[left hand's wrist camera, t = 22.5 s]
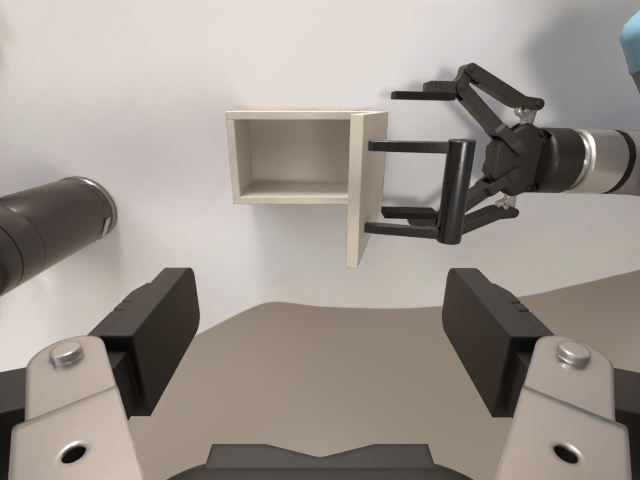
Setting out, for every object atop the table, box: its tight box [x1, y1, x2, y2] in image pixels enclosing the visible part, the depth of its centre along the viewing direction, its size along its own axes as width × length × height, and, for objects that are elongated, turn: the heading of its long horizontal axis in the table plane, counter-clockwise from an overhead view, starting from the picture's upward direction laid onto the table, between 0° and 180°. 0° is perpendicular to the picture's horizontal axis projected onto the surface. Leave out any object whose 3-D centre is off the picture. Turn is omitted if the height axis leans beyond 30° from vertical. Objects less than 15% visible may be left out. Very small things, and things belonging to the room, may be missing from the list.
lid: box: [346, 112, 476, 268], centre depth 30 cm, size 18×10×8 cm
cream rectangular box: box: [226, 111, 382, 204], centre depth 44 cm, size 17×10×10 cm, turn 90°
